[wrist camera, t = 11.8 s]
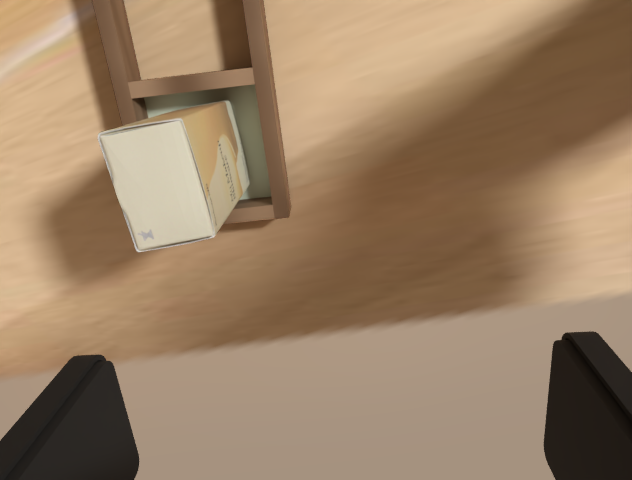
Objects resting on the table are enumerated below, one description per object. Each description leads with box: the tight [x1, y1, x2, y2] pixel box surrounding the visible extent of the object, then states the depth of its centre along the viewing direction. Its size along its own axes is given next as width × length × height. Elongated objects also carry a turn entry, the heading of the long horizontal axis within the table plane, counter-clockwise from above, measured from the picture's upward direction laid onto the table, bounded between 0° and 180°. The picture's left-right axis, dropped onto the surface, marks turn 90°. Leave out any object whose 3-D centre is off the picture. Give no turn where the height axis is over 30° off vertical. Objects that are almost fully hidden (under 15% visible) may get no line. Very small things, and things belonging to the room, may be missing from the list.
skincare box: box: [98, 100, 250, 252], centre depth 30 cm, size 6×4×12 cm
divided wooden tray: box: [92, 0, 291, 224], centre depth 33 cm, size 10×19×2 cm, turn 6°
